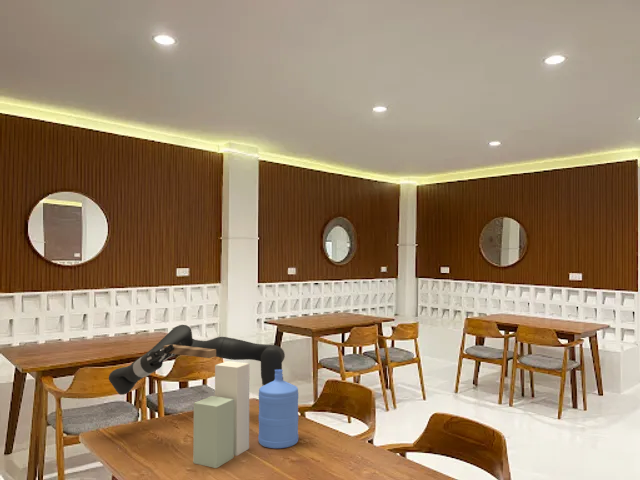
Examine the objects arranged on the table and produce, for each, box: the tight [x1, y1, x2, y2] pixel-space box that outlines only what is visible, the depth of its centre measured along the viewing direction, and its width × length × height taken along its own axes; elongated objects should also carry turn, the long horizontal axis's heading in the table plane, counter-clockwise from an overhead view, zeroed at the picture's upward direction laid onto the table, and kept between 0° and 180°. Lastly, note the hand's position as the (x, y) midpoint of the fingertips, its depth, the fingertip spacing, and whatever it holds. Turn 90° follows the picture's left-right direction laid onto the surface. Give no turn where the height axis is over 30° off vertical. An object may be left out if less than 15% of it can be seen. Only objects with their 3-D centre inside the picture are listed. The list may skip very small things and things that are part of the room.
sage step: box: [192, 395, 234, 469], centre depth 182 cm, size 10×10×21 cm
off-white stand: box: [214, 360, 250, 457], centre depth 192 cm, size 10×8×32 cm
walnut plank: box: [163, 344, 216, 359], centre depth 191 cm, size 22×4×2 cm, turn 63°
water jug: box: [257, 368, 299, 449], centre depth 201 cm, size 16×16×28 cm
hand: (176, 345), depth 194 cm, fingers closed on walnut plank, 4 cm apart
